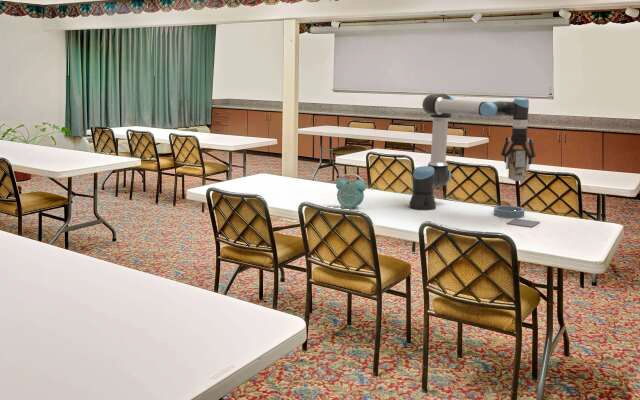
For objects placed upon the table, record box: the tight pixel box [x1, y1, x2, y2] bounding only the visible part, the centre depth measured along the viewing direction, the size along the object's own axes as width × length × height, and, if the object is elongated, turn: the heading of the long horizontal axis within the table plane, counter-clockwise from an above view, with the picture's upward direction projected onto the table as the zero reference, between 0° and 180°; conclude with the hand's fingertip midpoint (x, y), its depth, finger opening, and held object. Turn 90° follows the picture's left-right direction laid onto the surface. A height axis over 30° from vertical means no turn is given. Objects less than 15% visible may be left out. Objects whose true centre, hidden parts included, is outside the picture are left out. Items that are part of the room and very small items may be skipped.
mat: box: [506, 218, 541, 229], centre depth 320 cm, size 13×13×1 cm
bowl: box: [493, 205, 525, 219], centre depth 339 cm, size 16×16×4 cm
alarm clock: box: [335, 173, 367, 210], centre depth 354 cm, size 17×10×20 cm, turn 68°
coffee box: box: [507, 148, 528, 182], centre depth 327 cm, size 9×6×16 cm
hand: (517, 169), depth 327 cm, fingers closed on coffee box, 10 cm apart
